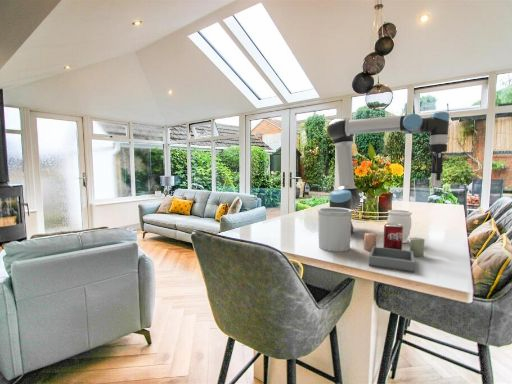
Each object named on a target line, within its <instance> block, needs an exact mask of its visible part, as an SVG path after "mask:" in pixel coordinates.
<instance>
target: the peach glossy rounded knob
mask: <svg viewBox="0 0 512 384" xmlns="http://www.w3.org/2000/svg"><path fill="white" fill-rule="evenodd" d="M363 235H364V237H363V239H364V240H363V250H364V251H366V252H371V250H372V247H377V239H378V238H377V236H378V235H377V233H373V232H365V233H364V234H363Z"/></svg>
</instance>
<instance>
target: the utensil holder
mask: <svg viewBox="0 0 512 384" xmlns="http://www.w3.org/2000/svg"><path fill="white" fill-rule="evenodd" d="M317 213H318V214H317V215H318V216H317V218H318V222H317V223H318V247H319V248H320V249H322V250H324V251H328V252H339V253H340V252H346V251H349V250H350V248H351V235H352V234H351V222H352V214H353V210H351V209H347V208H337V207H330V206H329V207H319V208H318V209H317Z"/></svg>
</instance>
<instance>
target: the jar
mask: <svg viewBox="0 0 512 384" xmlns="http://www.w3.org/2000/svg"><path fill="white" fill-rule="evenodd" d="M387 213H388V216H387V219H386V224H399V225H402V226H403V244H406V243H409V240H408V238H409V236H410V233H411V229H412V216H411V215H413V212H412V211H410V210H409V211H408V210H400V209H391V210H390V209H389V210H388V211H387Z"/></svg>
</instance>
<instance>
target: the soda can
mask: <svg viewBox="0 0 512 384" xmlns="http://www.w3.org/2000/svg"><path fill="white" fill-rule="evenodd" d="M403 244H404V243H403V226H402V225H399V224H387V223H385V224H384V227H383V246H382V248H389V249H398V250H403Z"/></svg>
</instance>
